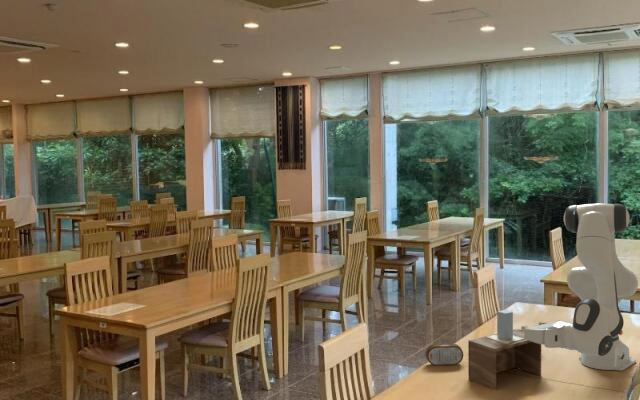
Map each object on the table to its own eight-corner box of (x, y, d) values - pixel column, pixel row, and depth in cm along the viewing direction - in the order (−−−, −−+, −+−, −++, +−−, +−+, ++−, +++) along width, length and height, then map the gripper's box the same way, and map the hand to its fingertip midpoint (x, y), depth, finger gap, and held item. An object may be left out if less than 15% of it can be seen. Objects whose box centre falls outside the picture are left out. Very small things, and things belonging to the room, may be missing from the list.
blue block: (504, 335, 242) (504, 309, 241) (512, 338, 239) (512, 311, 238) (497, 337, 240) (497, 311, 239) (505, 339, 236) (505, 313, 236)
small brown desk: (514, 366, 252) (514, 328, 251) (541, 375, 242) (541, 335, 241) (468, 379, 239) (468, 339, 238) (494, 389, 228) (494, 348, 227)
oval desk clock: (462, 362, 258) (462, 342, 257) (464, 365, 255) (464, 345, 254) (425, 364, 257) (425, 343, 257) (427, 366, 254) (426, 346, 254)
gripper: (583, 321, 222) (550, 313, 234) (545, 330, 211) (512, 321, 223) (583, 338, 222) (550, 330, 234) (545, 348, 211) (512, 339, 223)
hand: (531, 326), depth 228 cm, fingers open, 8 cm apart
